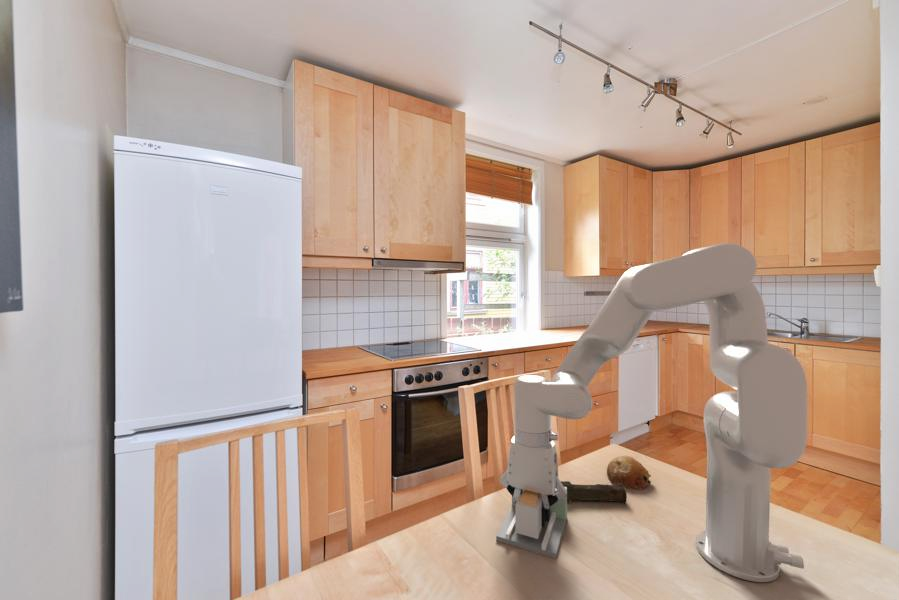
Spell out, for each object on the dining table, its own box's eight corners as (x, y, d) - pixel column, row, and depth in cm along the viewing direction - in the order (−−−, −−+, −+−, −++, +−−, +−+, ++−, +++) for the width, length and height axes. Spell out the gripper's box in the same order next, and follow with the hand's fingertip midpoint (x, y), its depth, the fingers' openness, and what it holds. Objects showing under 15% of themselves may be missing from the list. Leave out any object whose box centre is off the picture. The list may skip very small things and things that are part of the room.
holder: (547, 511, 82) (547, 481, 82) (537, 538, 73) (537, 506, 73) (527, 506, 84) (527, 477, 84) (515, 532, 75) (515, 500, 75)
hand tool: (621, 496, 92) (621, 478, 92) (627, 505, 88) (627, 486, 88) (544, 494, 94) (544, 476, 93) (547, 503, 90) (547, 485, 89)
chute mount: (566, 517, 84) (567, 487, 83) (556, 558, 71) (556, 523, 71) (514, 504, 89) (514, 475, 89) (496, 540, 76) (496, 507, 76)
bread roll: (625, 482, 106) (613, 453, 108) (660, 479, 98) (647, 448, 101) (607, 494, 99) (595, 463, 102) (643, 493, 92) (630, 459, 94)
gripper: (576, 435, 78) (576, 520, 78) (499, 423, 85) (499, 501, 86) (571, 450, 71) (571, 542, 72) (488, 435, 78) (488, 519, 79)
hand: (532, 519), depth 79 cm, fingers closed on holder, 4 cm apart
